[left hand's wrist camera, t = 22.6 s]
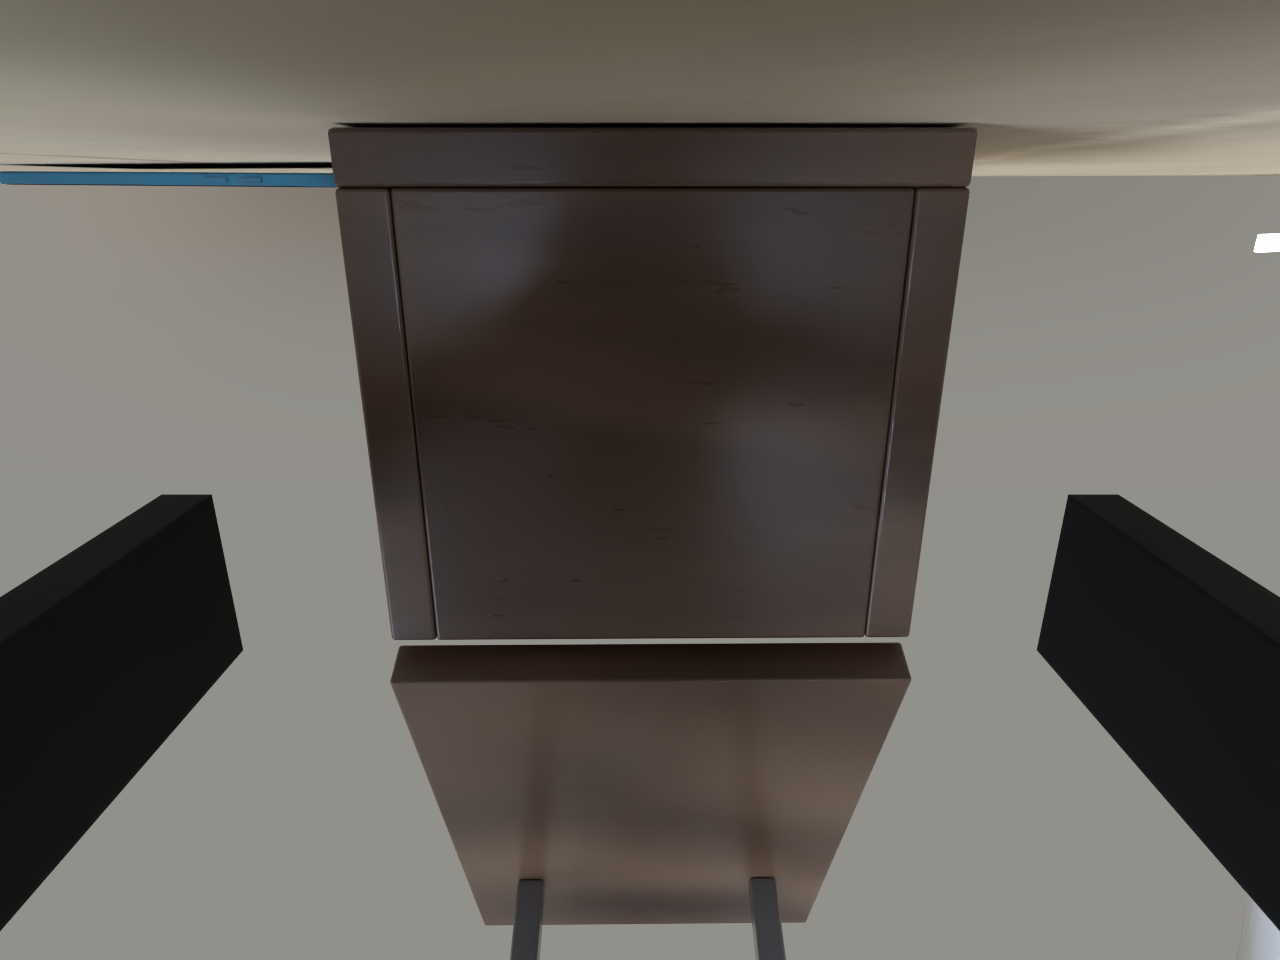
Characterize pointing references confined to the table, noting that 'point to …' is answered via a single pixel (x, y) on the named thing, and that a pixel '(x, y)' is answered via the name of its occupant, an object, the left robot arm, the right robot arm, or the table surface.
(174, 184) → the smartphone
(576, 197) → the chest
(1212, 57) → the table surface
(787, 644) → the lid
